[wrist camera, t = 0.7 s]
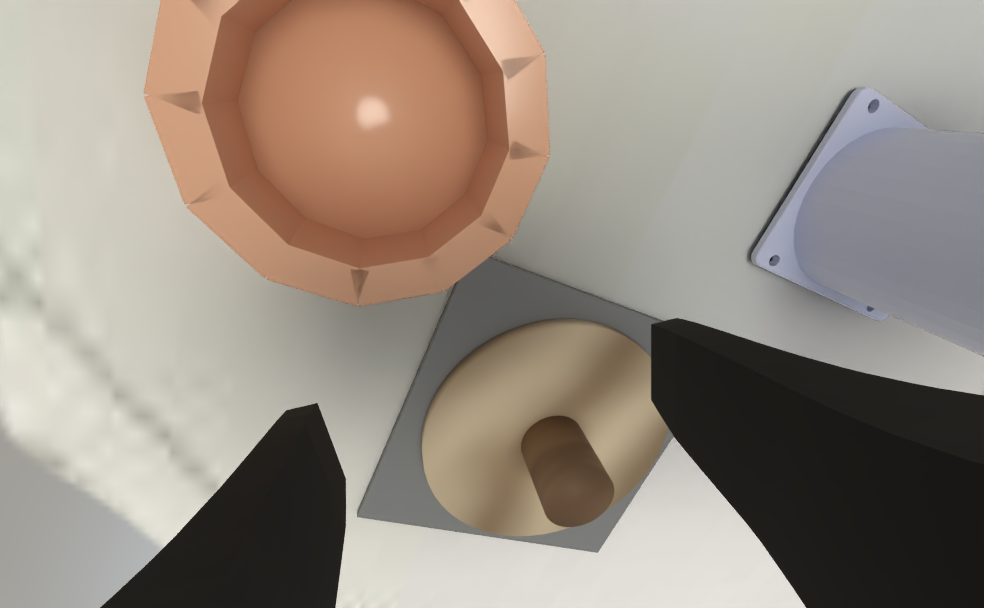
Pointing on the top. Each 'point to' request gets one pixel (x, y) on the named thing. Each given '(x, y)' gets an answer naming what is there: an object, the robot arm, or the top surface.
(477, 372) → the lid
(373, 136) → the bowl
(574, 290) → the mat
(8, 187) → the top surface
